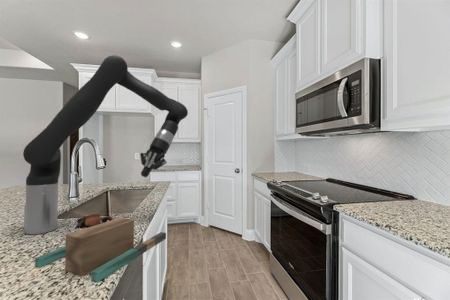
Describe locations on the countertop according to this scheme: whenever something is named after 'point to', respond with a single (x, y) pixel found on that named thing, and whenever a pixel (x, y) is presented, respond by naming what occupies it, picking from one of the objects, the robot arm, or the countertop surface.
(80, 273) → the walnut block
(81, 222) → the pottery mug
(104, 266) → the lane
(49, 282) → the countertop surface
